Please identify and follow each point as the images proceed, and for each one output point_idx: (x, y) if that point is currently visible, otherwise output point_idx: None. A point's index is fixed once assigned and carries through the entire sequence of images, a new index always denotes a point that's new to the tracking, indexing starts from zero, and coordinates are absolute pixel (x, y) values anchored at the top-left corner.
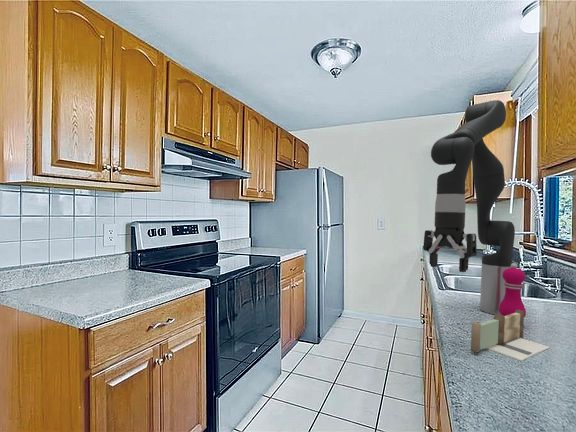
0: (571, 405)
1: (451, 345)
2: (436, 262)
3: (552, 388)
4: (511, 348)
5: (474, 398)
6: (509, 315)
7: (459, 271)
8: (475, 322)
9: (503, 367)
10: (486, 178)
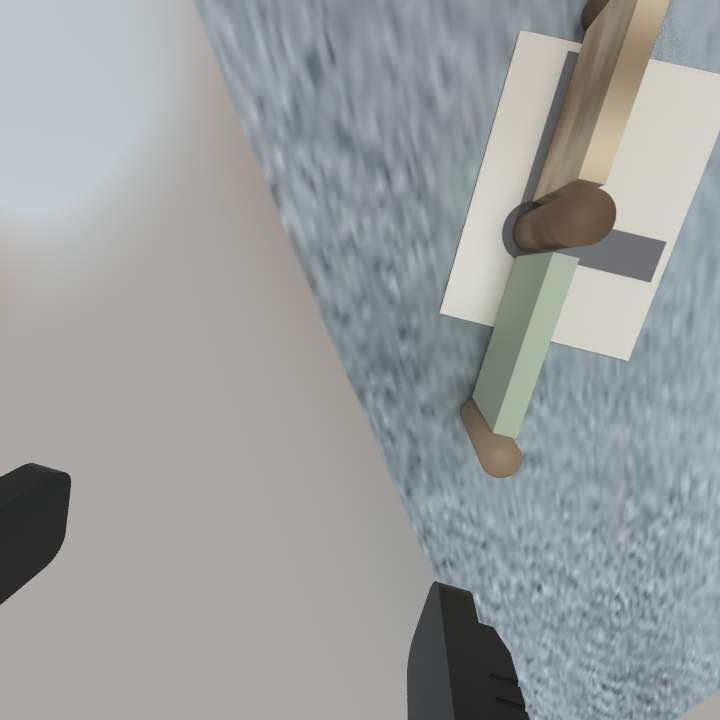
0: None
1: (386, 398)
2: (19, 513)
3: (714, 508)
4: (587, 259)
5: (535, 694)
6: (625, 72)
7: (410, 655)
8: (494, 444)
9: (575, 460)
10: None
